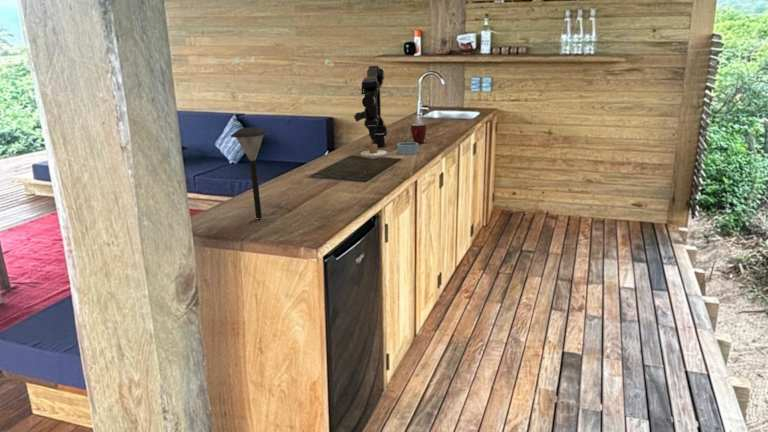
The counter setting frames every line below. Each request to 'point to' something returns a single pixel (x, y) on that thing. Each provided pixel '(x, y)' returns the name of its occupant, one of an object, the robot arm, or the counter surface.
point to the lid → (373, 151)
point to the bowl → (407, 148)
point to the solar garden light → (252, 157)
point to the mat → (374, 157)
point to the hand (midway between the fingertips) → (372, 137)
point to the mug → (418, 132)
